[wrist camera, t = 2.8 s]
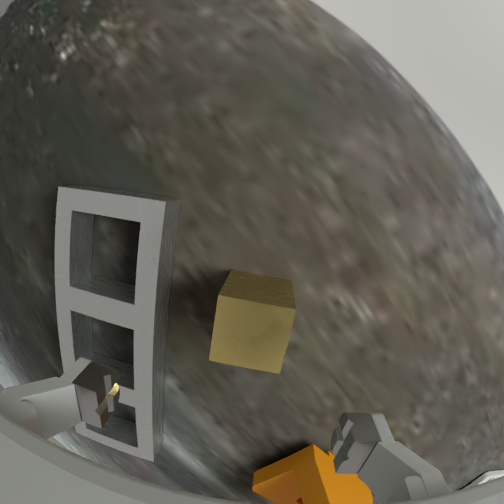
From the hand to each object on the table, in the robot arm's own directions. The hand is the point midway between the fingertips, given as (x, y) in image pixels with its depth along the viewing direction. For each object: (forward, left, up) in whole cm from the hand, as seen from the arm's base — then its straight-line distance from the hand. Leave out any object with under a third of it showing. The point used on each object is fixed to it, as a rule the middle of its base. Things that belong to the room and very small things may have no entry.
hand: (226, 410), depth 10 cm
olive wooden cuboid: (0, 0, -11) cm, 11 cm away
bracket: (-9, +18, -12) cm, 24 cm away
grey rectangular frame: (+10, +5, -11) cm, 16 cm away
